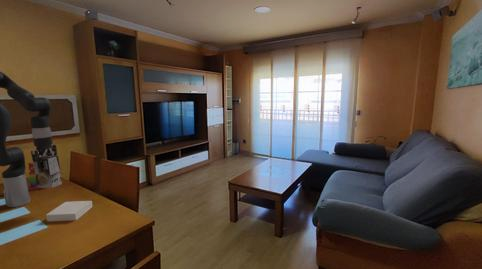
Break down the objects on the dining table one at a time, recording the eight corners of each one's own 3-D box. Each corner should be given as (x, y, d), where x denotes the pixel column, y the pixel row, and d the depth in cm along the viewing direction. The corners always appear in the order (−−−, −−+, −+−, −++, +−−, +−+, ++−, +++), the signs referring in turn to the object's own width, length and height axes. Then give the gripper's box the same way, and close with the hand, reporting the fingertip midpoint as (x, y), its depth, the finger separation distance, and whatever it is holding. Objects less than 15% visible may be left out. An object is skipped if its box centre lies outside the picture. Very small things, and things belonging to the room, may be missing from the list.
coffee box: (62, 183, 125) (58, 155, 123) (52, 188, 119) (47, 158, 116) (47, 182, 126) (43, 155, 123) (36, 187, 120) (31, 158, 117)
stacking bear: (25, 191, 148) (20, 165, 145) (32, 186, 157) (27, 161, 154) (45, 188, 152) (41, 163, 149) (51, 183, 161) (47, 159, 158)
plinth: (47, 222, 113) (45, 214, 112) (66, 208, 126) (65, 201, 126) (76, 221, 114) (75, 213, 113) (92, 207, 127) (91, 200, 127)
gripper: (45, 133, 125) (50, 162, 128) (22, 138, 111) (28, 171, 113) (59, 133, 125) (63, 162, 128) (38, 138, 111) (43, 170, 114)
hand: (47, 166), depth 121 cm, fingers closed on coffee box, 7 cm apart
